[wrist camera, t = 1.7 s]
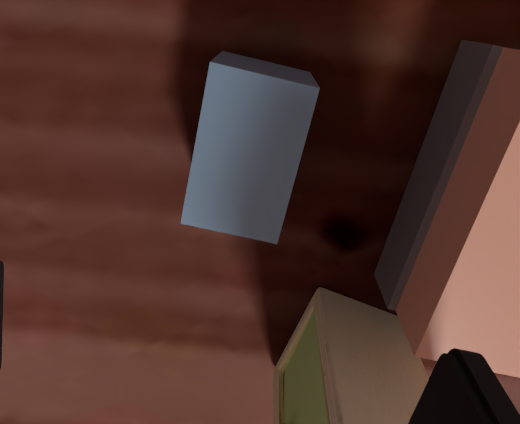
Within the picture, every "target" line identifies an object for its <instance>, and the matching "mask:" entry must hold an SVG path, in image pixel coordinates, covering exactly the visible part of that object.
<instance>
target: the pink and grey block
mask: <svg viewBox="0 0 520 424" xmlns="http://www.w3.org/2000/svg"><path fill="white" fill-rule="evenodd" d="M374 276H375V278H376V281H377V283H378V286H379V289H380V291H381V294H382V296H383V299H384V301H385V304H386V307H387V309H391V310H395V311H396V313H397V315H398V318H399V320H400V323H401V325H402V327H403V330H404V332H405V335H406V337H407V339H408V342H409V344H410V347H411V349H412V352H413V354H414V356H416V357H421V358H425V359H430V360H435V361H438V359H439V357H440V355H442V354H443V353H448V352H449V351H450V350H451V349H454V348H456V349H461V350H466V351H471V352H475V353H479V354H482V356H483V357H484V358H485V359H486V361H487V363H488V364H489V366H490V368H491V369H492V371H493V372H494V373H499V374H504V375H509V376H514V377H519V378H520V50H518V49H512V48H506V47H501V46H497V45H493V44H487V43H480V42H474V41H468V40H461V42H460V45H459V48H458V50H457V53H456V56H455V58H454V61H453V64H452V66H451V69H450V72H449V74H448V77H447V80H446V82H445V85H444V88H443V90H442V93H441V96H440V98H439V101H438V104H437V106H436V109H435V112H434V114H433V117H432V120H431V122H430V125H429V128H428V130H427V133H426V136H425V138H424V141H423V144H422V146H421V149H420V152H419V155H418V157H417V160H416V163H415V165H414V168H413V171H412V173H411V176H410V179H409V181H408V184H407V187H406V189H405V192H404V195H403V197H402V200H401V203H400V205H399V208H398V211H397V213H396V216H395V219H394V221H393V224H392V227H391V229H390V232H389V235H388V237H387V240H386V243H385V245H384V248H383V251H382V253H381V256H380V259H379V261H378V264H377V267H376V269H375V272H374Z"/></svg>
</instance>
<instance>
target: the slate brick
mask: <svg viewBox="0 0 520 424" xmlns="http://www.w3.org/2000/svg"><path fill="white" fill-rule="evenodd" d="M319 90H320V87H319V86H318V84H317V82H316V81H315V79H314V78H313V76H312V74H311V73H310V72H308V71H304V70H300V69H296V68H291V67H287V66H283V65H279V64H275V63H271V62H267V61H263V60H259V59H254V58H250V57H246V56H242V55H238V54H234V53H230V52H226V51H222V52H221V53H219V54H218V55H217V56H216V57H215V58H214V59H212V60H211V61H210V63H209V69H208V74H207V80H206V86H205V91H204V97H203V102H202V108H201V113H200V119H199V124H198V130H197V135H196V141H195V146H194V152H193V158H192V163H191V169H190V174H189V180H188V185H187V191H186V196H185V202H184V207H183V213H182V218H181V224H186V225H190V226H195V227H200V228H204V229H209V230H213V231H218V232H223V233H227V234H232V235H237V236H241V237H246V238H250V239H255V240H260V241H264V242H269V243H274V244H277V243H278V240H279V236H280V232H281V229H282V225H283V221H284V218H285V214H286V210H287V207H288V203H289V200H290V196H291V192H292V189H293V185H294V181H295V178H296V174H297V170H298V167H299V163H300V159H301V156H302V152H303V148H304V145H305V141H306V138H307V134H308V130H309V127H310V123H311V119H312V116H313V112H314V108H315V105H316V101H317V97H318V94H319Z"/></svg>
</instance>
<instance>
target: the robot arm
mask: <svg viewBox="0 0 520 424" xmlns="http://www.w3.org/2000/svg"><path fill="white" fill-rule="evenodd" d="M3 280H4V265H3V262H2V261H0V368H1V360H2V320H3ZM408 424H520V415H519V413H518V411H517V410H516V408H515V407H514V405H513V403H512V402H511V400H510V398H509V397H508V395H507V394H506V392H505V390H504V389H503V387H502V385H501V384H500V382H499V381H498V379H497V377H496V376H495V374H494V372H493V371H492V369H491V368H490V366H489V364H488V363H487V361H486V359H485V358H484V357H483V356H482V354H479V353H475V352H471V351H466V350H461V349H456V348H454V349H451V350H450V351H449V352H448V353H443V354H442V355H440V357H439V359H438V361H437V363H436V365H435V367H434V369H433V372H432V374H431V376H430V378H429V380H428V382H427V384H426V386H425V389H424V391H423V393H422V395H421V397H420V399H419V401H418V403H417V406H416V408H415V410H414V412H413V414H412V416H411V418H410V420H409V423H408Z"/></svg>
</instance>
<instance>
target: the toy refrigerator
mask: <svg viewBox="0 0 520 424" xmlns="http://www.w3.org/2000/svg"><path fill="white" fill-rule="evenodd" d="M428 380H429V377H428V375H427V373H426V370H425V368H424V366H423V363H422V361H421V359H420V357H416V356H414V354H413V352H412V349H411V347H410V344H409V342H408V339H407V337H406V335H405V332H404V330H403V327H402V325H401V323H400V320H399V318H398V316H396V315H394V314H391V313H388V312H386V311H383V310H380V309H378V308H375V307H372V306H370V305H367V304H365V303H362V302H359V301H357V300H354V299H352V298H349V297H346V296H343V295H340V294H338V293H335V292H332V291H330V290H327V289H324V288H322V287H319V288H318V289H317V290H316V292H315V293H314V295H313V297H312V299H311V301H310V302H309V304H308V306H307V308H306V310H305V312H304V314H303V316H302V318H301V319H300V321H299V323H298V325H297V327H296V329H295V331H294V332H293V334H292V336H291V338H290V340H289V342H288V344H287V346H286V347H285V349H284V351H283V353H282V355H281V357H280V359H279V360H278V362H277V364H276V366H275V369H274V374H273V389H274V424H408V423H409V420H410V418H411V416H412V414H413V412H414V410H415V408H416V406H417V403H418V401H419V399H420V397H421V395H422V393H423V391H424V389H425V386H426V384H427V382H428Z"/></svg>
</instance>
